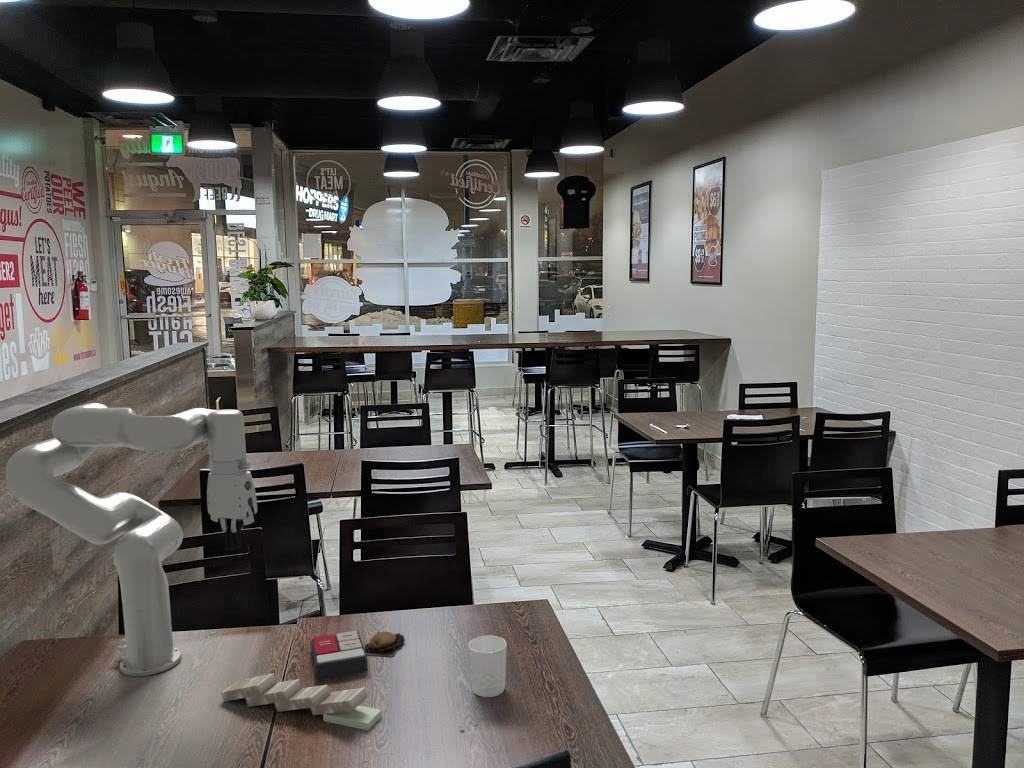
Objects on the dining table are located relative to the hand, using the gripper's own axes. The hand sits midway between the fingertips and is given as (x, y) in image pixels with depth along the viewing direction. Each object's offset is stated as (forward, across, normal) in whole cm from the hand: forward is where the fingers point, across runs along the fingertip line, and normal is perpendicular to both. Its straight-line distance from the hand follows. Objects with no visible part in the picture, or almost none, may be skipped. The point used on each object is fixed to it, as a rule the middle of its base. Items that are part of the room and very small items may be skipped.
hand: (234, 547), depth 171 cm
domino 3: (+26, -20, +12) cm, 35 cm away
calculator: (+28, -20, -8) cm, 35 cm away
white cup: (+27, -57, -6) cm, 63 cm away
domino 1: (+26, -7, +12) cm, 30 cm away
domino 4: (+26, -28, +12) cm, 40 cm away
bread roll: (+28, -27, -17) cm, 42 cm away
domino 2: (+26, -13, +12) cm, 32 cm away
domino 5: (+27, -30, +12) cm, 42 cm away
